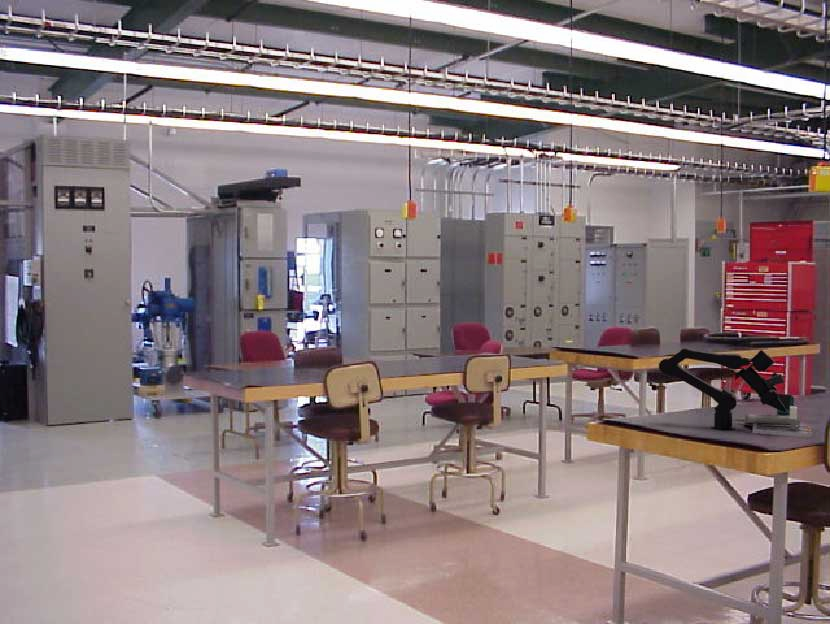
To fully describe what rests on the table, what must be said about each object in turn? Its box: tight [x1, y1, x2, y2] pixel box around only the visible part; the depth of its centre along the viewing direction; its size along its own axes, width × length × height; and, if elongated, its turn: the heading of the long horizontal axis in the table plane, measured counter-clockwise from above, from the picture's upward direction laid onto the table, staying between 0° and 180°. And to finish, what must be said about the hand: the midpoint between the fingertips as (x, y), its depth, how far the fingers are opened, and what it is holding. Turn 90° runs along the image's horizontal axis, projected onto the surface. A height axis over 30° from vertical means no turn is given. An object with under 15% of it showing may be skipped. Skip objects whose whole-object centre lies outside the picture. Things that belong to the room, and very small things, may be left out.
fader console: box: [752, 423, 813, 439], centre depth 319 cm, size 20×11×2 cm, turn 66°
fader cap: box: [790, 406, 798, 430], centre depth 318 cm, size 2×4×8 cm, turn 156°
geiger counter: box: [732, 412, 802, 428], centre depth 331 cm, size 14×6×25 cm
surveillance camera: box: [776, 393, 795, 416], centre depth 345 cm, size 6×12×10 cm
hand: (785, 411), depth 319 cm, fingers closed
